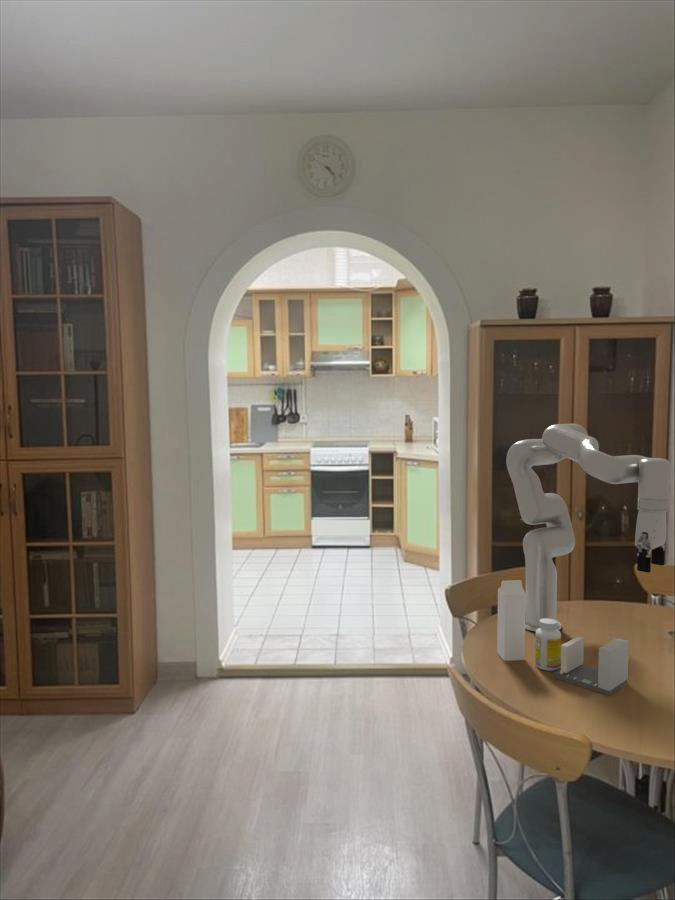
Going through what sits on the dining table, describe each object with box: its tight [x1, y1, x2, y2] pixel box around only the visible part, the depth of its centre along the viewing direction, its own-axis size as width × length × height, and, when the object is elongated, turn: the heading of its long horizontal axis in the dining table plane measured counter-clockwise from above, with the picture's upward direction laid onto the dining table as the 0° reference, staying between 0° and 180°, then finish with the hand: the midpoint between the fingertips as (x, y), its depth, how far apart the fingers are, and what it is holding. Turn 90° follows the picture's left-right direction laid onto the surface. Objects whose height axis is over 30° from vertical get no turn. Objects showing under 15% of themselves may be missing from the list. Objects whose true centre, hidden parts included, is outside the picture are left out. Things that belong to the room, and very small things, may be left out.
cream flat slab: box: [560, 636, 585, 674], centre depth 175 cm, size 2×10×7 cm, turn 133°
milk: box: [496, 579, 526, 662], centre depth 188 cm, size 6×6×22 cm
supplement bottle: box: [534, 618, 562, 672], centre depth 181 cm, size 7×7×13 cm
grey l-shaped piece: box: [553, 637, 630, 697], centre depth 172 cm, size 15×10×11 cm, turn 43°
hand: (650, 567), depth 178 cm, fingers open, 9 cm apart
